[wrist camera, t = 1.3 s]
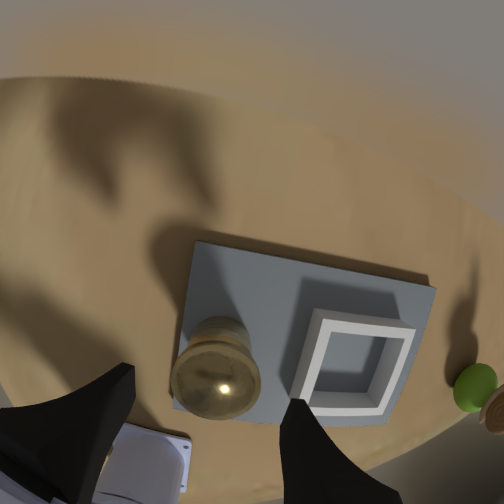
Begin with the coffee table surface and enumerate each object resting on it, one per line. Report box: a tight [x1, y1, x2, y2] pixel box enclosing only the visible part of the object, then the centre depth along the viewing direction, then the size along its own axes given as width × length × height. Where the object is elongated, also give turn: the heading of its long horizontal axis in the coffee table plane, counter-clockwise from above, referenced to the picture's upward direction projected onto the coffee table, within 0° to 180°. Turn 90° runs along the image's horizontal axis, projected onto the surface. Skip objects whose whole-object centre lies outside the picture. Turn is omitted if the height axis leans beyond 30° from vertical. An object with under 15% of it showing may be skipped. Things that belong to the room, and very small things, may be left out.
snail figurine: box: [453, 363, 504, 435], centre depth 18 cm, size 5×6×12 cm
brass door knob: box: [170, 316, 261, 420], centre depth 18 cm, size 5×5×6 cm
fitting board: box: [173, 241, 436, 427], centre depth 20 cm, size 14×20×4 cm
